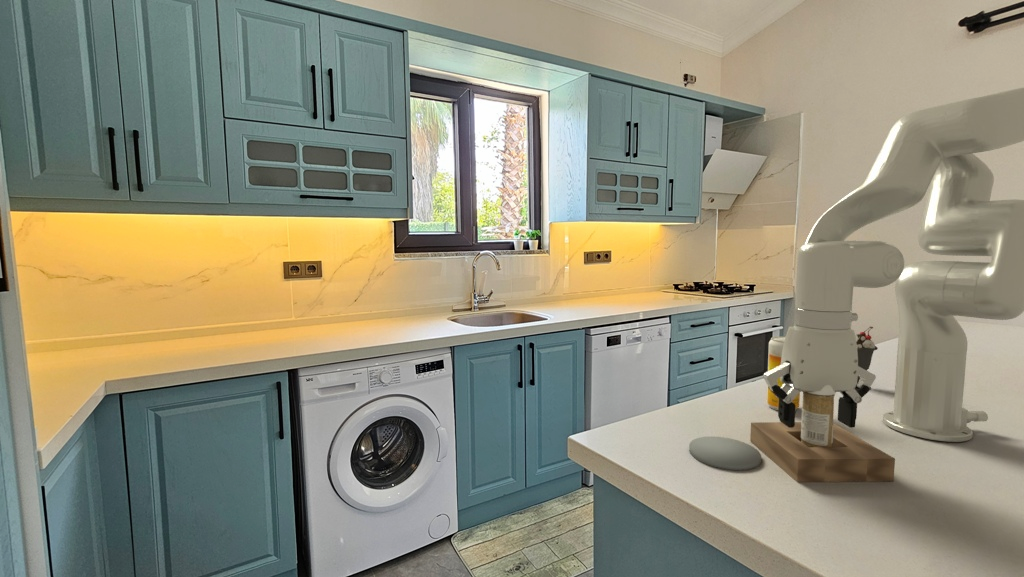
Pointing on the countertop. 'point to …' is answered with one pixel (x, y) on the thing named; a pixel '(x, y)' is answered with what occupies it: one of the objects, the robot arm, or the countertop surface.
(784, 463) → the walnut pocket block
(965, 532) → the countertop surface
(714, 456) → the slate coaster
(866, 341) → the sundae
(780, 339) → the beer can
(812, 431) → the sprinkles bottle
